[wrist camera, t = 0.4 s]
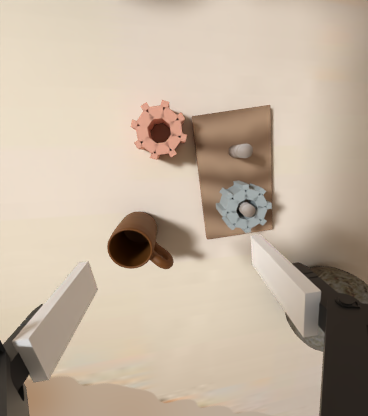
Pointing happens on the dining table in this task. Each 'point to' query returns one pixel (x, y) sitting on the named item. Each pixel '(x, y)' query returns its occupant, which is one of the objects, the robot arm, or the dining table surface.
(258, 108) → the gear board
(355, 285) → the vase
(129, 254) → the mug
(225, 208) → the gear
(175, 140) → the gear
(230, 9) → the dining table surface
